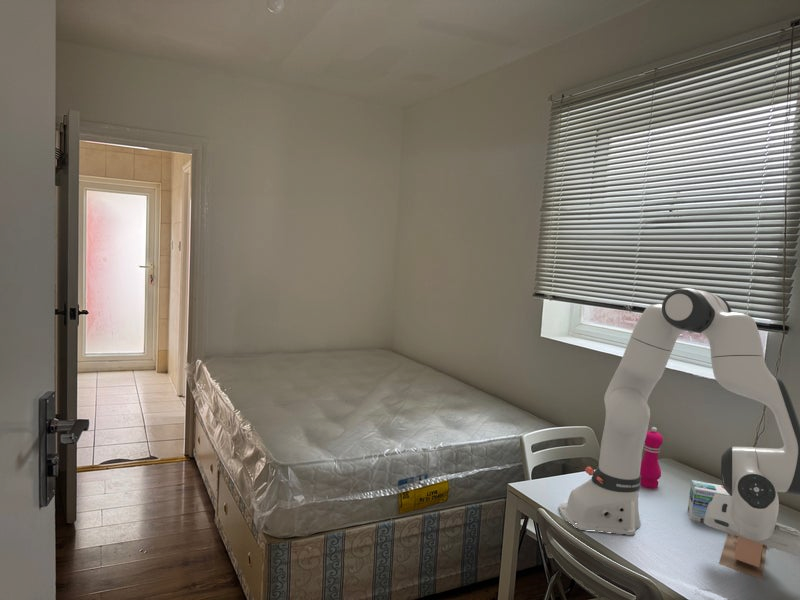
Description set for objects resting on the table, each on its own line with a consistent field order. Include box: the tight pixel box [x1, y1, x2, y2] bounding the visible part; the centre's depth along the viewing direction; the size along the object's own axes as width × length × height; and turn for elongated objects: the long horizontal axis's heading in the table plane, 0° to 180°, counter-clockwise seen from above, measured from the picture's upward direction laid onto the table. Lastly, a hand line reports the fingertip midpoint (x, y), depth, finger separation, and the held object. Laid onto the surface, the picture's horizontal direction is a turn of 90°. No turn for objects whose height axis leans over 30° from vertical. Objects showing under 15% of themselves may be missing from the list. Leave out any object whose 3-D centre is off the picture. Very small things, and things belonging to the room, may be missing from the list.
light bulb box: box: [687, 479, 732, 524], centre depth 156 cm, size 11×7×11 cm, turn 70°
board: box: [718, 533, 767, 580], centre depth 139 cm, size 19×9×4 cm, turn 143°
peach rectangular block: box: [734, 536, 763, 567], centre depth 135 cm, size 5×5×8 cm
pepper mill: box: [640, 426, 664, 490], centre depth 179 cm, size 7×7×20 cm
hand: (750, 541), depth 135 cm, fingers closed on peach rectangular block, 5 cm apart
